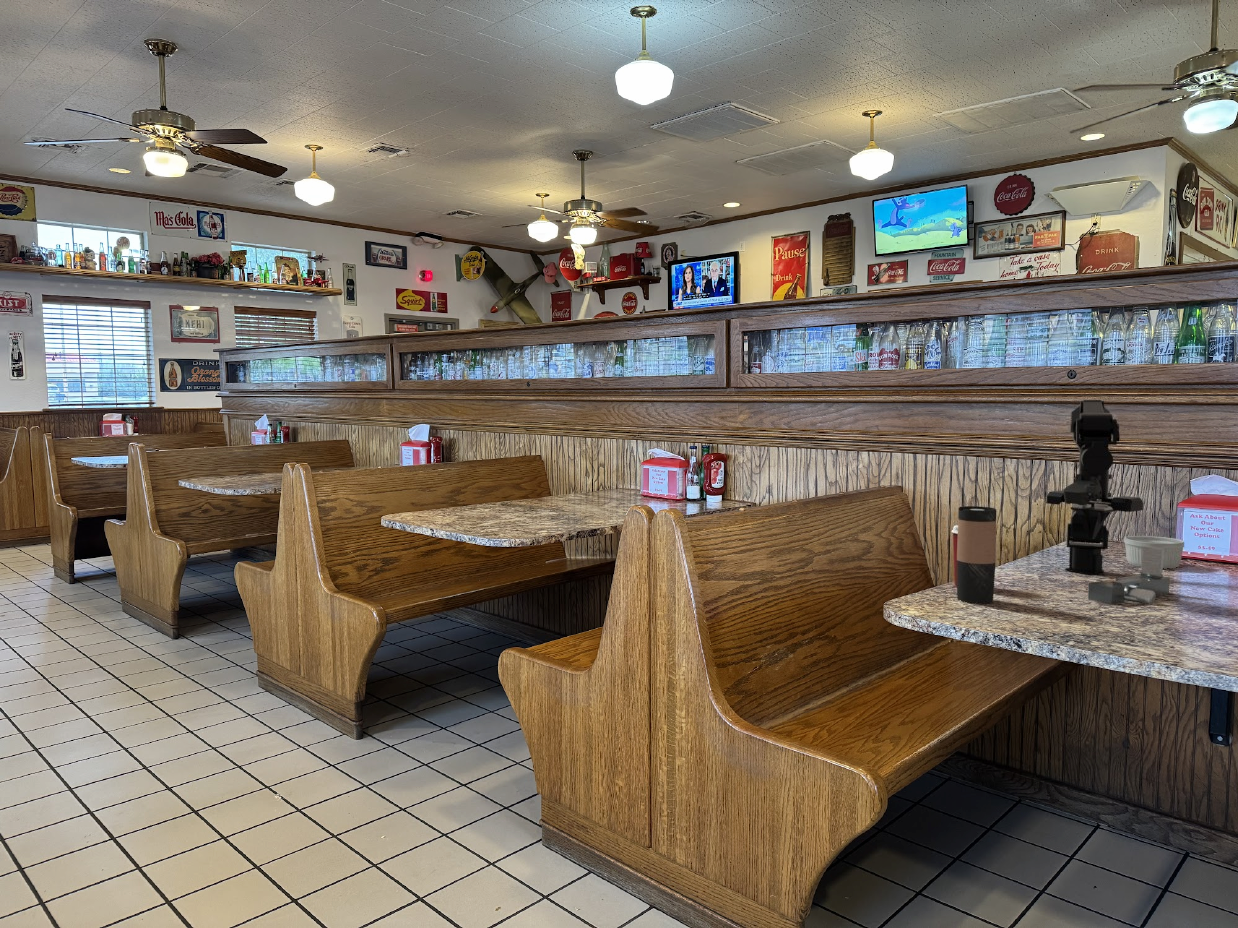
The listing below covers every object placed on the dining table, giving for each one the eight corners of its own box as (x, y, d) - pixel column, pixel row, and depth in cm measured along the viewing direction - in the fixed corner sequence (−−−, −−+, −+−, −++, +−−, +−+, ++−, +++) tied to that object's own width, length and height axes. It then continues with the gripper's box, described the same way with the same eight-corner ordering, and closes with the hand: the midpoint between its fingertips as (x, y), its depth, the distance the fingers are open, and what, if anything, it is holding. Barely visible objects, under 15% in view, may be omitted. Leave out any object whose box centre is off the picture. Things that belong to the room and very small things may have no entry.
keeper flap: (1139, 574, 183) (1142, 546, 182) (1142, 574, 183) (1144, 546, 183) (1160, 578, 179) (1163, 549, 179) (1162, 578, 179) (1165, 549, 179)
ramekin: (1114, 560, 220) (1115, 534, 220) (1166, 561, 218) (1167, 535, 218) (1138, 569, 207) (1139, 542, 207) (1194, 571, 205) (1195, 543, 205)
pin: (1093, 596, 178) (1093, 583, 178) (1109, 592, 182) (1110, 579, 181) (1143, 606, 169) (1144, 592, 169) (1159, 601, 173) (1160, 587, 173)
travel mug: (999, 599, 175) (1002, 508, 174) (987, 606, 169) (989, 511, 168) (963, 594, 180) (965, 505, 179) (950, 600, 175) (952, 508, 173)
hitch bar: (1088, 599, 175) (1088, 580, 175) (1145, 589, 185) (1146, 571, 184) (1111, 604, 171) (1112, 584, 170) (1169, 593, 180) (1169, 574, 180)
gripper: (1033, 468, 185) (1031, 536, 186) (1118, 474, 169) (1115, 548, 170) (1061, 466, 191) (1058, 532, 192) (1146, 472, 175) (1143, 543, 176)
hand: (1091, 538), depth 182 cm, fingers closed
